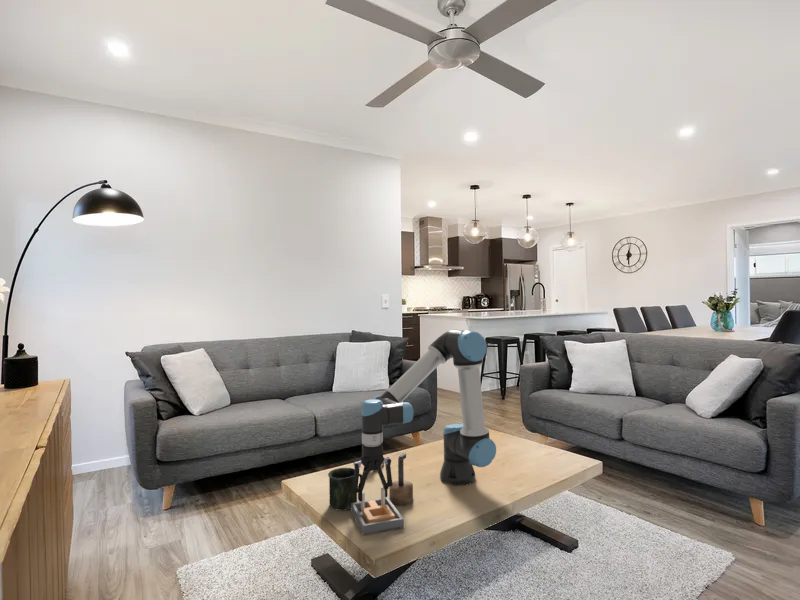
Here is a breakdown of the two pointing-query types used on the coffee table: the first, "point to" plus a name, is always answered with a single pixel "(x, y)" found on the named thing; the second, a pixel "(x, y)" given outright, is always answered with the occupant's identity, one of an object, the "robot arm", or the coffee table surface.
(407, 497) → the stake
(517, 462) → the coffee table surface
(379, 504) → the tray
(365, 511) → the orange square frame paddle
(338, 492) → the mug
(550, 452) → the coffee table surface
